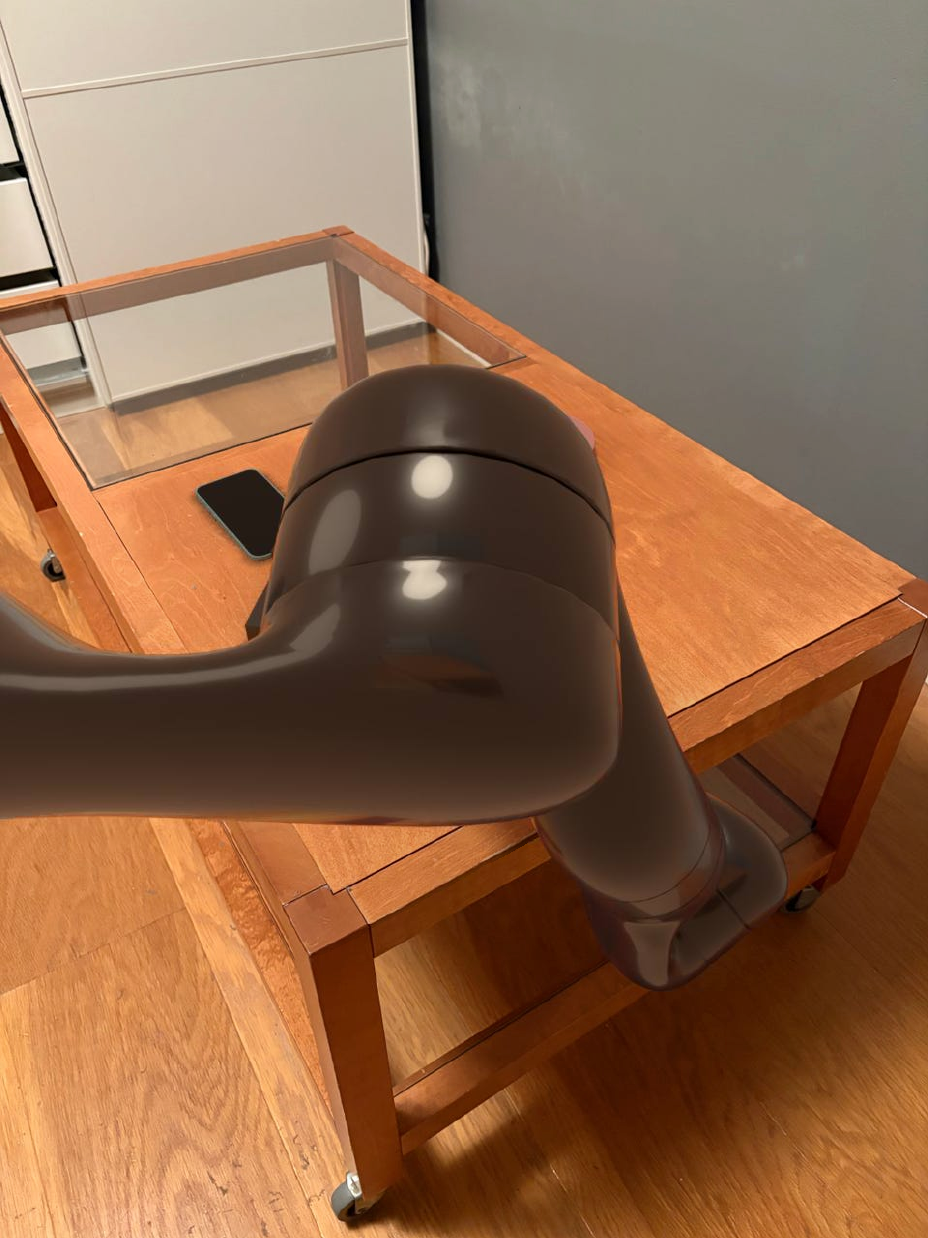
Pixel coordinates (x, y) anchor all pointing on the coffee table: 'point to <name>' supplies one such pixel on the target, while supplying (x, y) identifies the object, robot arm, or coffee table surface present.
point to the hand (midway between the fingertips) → (415, 568)
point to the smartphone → (245, 510)
